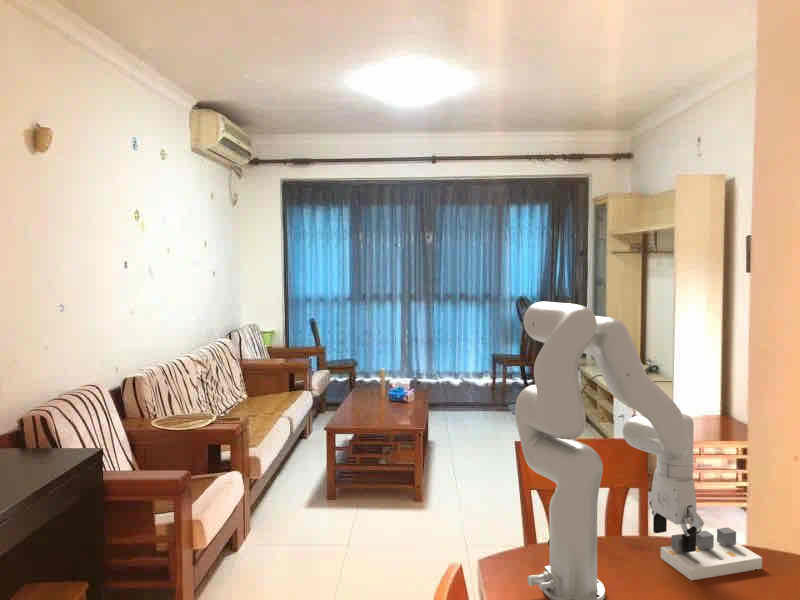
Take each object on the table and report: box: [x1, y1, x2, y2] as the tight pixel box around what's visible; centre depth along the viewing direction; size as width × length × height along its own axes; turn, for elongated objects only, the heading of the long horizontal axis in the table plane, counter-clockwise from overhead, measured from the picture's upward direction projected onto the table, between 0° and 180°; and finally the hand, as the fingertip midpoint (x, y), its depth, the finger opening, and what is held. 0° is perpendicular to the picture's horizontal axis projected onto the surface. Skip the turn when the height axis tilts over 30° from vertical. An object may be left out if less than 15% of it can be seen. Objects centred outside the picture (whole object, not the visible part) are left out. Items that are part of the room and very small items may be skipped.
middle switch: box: [696, 530, 715, 550], centre depth 137 cm, size 3×2×3 cm
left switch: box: [670, 533, 684, 553], centre depth 136 cm, size 3×2×3 cm
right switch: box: [716, 527, 737, 546], centre depth 139 cm, size 3×2×3 cm
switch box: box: [660, 538, 763, 581], centre depth 136 cm, size 18×10×3 cm, turn 103°
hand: (673, 541), depth 138 cm, fingers open, 9 cm apart
